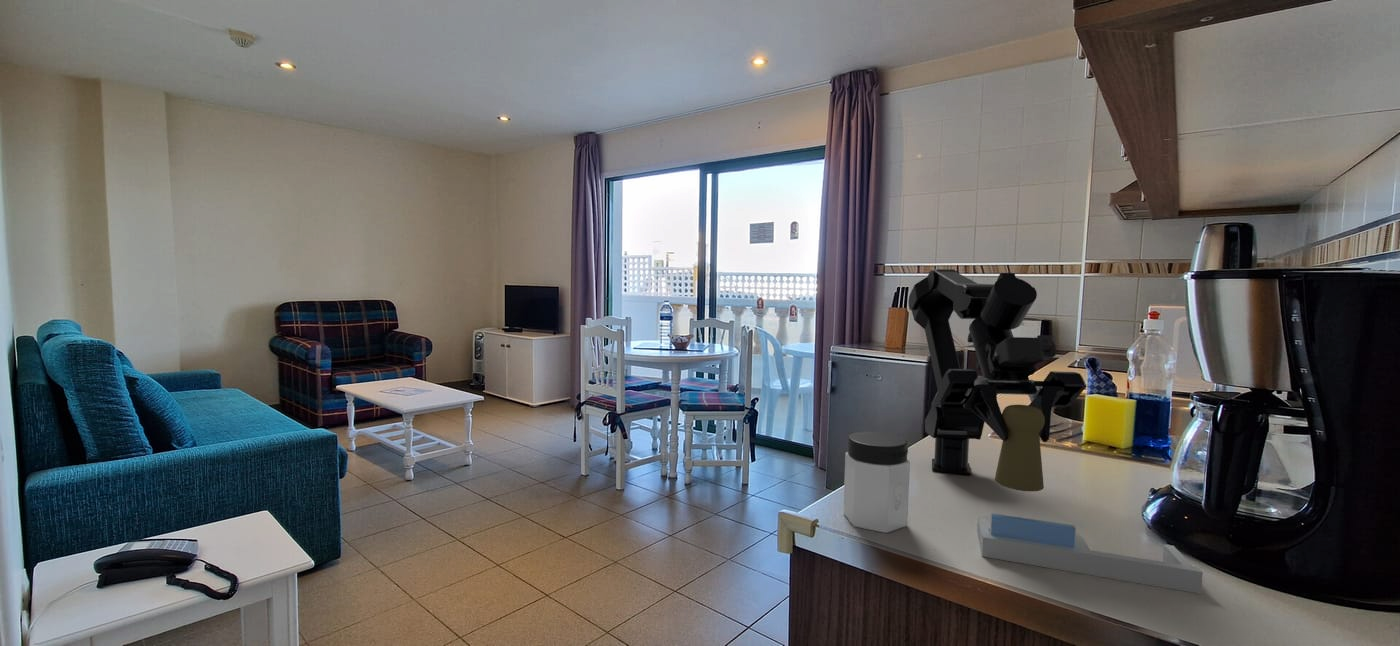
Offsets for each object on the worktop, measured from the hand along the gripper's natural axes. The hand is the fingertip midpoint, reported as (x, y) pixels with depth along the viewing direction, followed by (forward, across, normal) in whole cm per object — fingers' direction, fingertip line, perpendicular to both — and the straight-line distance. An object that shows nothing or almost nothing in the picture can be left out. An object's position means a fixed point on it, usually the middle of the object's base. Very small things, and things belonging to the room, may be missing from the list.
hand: (1026, 440), depth 78 cm
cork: (+4, 0, +6) cm, 7 cm away
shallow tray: (+14, +4, +4) cm, 15 cm away
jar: (+8, -19, +10) cm, 24 cm away
